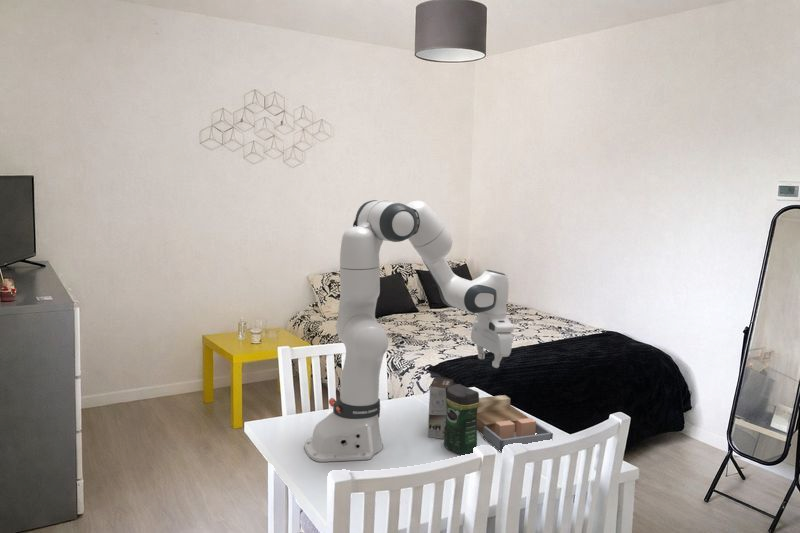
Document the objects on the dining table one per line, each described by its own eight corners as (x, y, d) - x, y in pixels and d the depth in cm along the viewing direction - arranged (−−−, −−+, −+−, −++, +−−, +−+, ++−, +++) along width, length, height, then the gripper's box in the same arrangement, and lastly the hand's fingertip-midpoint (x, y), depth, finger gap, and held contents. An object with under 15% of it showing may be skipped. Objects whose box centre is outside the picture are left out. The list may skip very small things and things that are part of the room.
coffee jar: (481, 451, 183) (484, 389, 180) (460, 457, 178) (463, 394, 176) (459, 439, 191) (462, 380, 188) (439, 445, 186) (441, 384, 184)
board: (485, 436, 193) (485, 424, 193) (462, 418, 207) (463, 407, 206) (529, 430, 199) (530, 418, 198) (505, 413, 213) (506, 402, 212)
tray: (500, 452, 183) (501, 440, 182) (483, 437, 193) (483, 426, 192) (552, 444, 189) (552, 433, 189) (532, 430, 199) (533, 420, 199)
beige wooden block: (477, 412, 202) (477, 402, 201) (472, 408, 205) (472, 398, 205) (509, 408, 206) (510, 398, 206) (504, 405, 209) (504, 395, 209)
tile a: (494, 437, 192) (499, 441, 189) (495, 422, 191) (500, 425, 188) (508, 435, 193) (514, 439, 191) (509, 420, 193) (515, 424, 190)
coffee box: (448, 439, 190) (450, 388, 188) (427, 437, 192) (429, 386, 189) (451, 428, 199) (454, 378, 197) (431, 425, 200) (433, 376, 198)
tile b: (515, 435, 194) (520, 439, 191) (516, 419, 193) (521, 423, 191) (529, 433, 196) (535, 437, 193) (530, 417, 195) (536, 421, 192)
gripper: (468, 313, 210) (464, 354, 212) (499, 328, 191) (495, 372, 193) (484, 313, 213) (481, 353, 214) (517, 328, 194) (512, 371, 196)
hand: (488, 362), depth 204 cm, fingers open, 8 cm apart
